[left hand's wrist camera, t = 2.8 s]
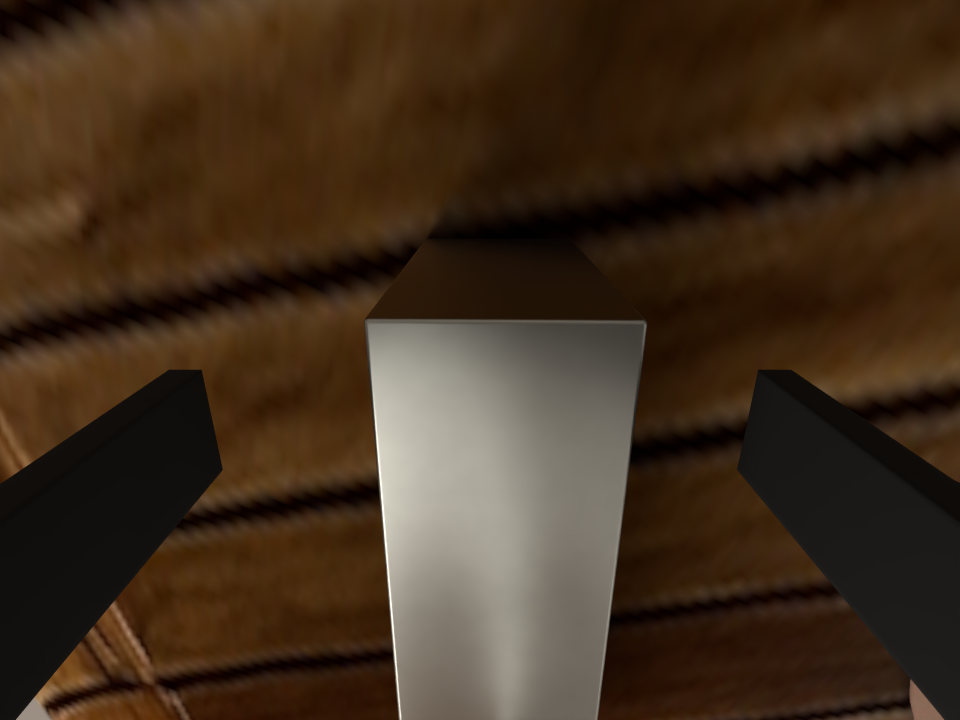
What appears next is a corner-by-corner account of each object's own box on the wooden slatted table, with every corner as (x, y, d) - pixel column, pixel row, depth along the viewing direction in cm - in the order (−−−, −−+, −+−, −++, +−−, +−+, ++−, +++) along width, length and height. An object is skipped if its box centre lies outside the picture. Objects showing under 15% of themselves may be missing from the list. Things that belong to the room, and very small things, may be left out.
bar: (425, 237, 16) (362, 318, 8) (571, 238, 16) (648, 320, 8) (444, 740, 25) (423, 1011, 17) (538, 742, 25) (561, 1015, 17)
